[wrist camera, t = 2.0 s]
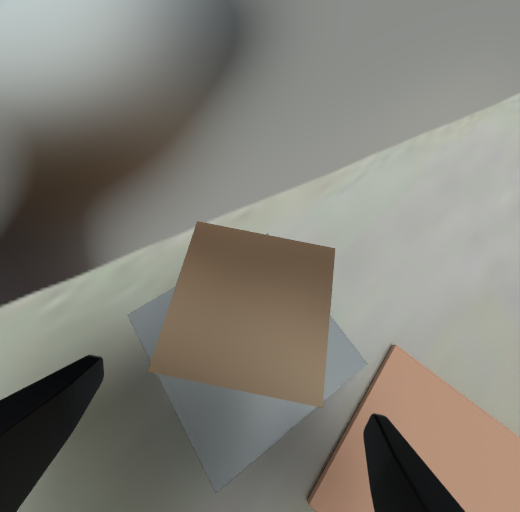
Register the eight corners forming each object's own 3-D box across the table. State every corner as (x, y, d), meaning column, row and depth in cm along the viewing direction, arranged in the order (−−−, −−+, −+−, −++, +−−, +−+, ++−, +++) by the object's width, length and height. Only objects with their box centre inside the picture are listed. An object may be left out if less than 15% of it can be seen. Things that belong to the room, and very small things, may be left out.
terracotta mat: (487, 673, 13) (496, 684, 13) (307, 500, 15) (309, 504, 15) (543, 459, 17) (551, 461, 16) (392, 345, 19) (395, 344, 19)
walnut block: (275, 385, 16) (322, 407, 7) (202, 370, 16) (147, 371, 7) (286, 311, 18) (335, 248, 8) (220, 298, 18) (197, 221, 8)
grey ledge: (354, 364, 18) (367, 363, 17) (218, 478, 15) (215, 493, 14) (265, 244, 22) (267, 233, 20) (138, 320, 19) (127, 315, 17)
